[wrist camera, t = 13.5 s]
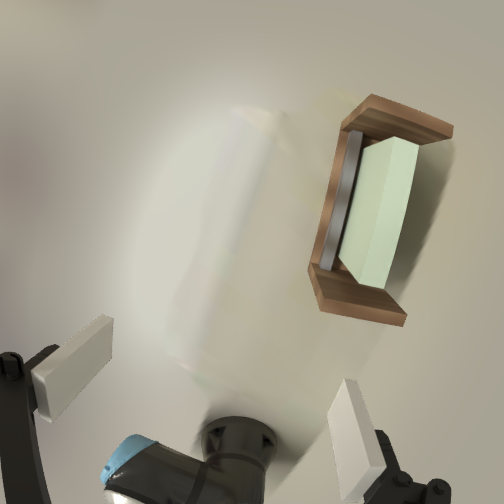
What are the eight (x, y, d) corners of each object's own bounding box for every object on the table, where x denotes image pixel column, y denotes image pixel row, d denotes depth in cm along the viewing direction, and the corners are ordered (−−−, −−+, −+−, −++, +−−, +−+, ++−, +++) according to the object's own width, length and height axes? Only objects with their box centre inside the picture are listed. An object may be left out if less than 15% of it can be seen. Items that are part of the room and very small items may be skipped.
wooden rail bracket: (367, 283, 47) (402, 326, 32) (307, 270, 48) (320, 311, 32) (402, 141, 42) (453, 125, 27) (341, 122, 43) (371, 93, 27)
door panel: (359, 259, 46) (388, 290, 32) (336, 254, 46) (358, 283, 32) (383, 156, 42) (423, 147, 29) (361, 149, 42) (394, 136, 29)
